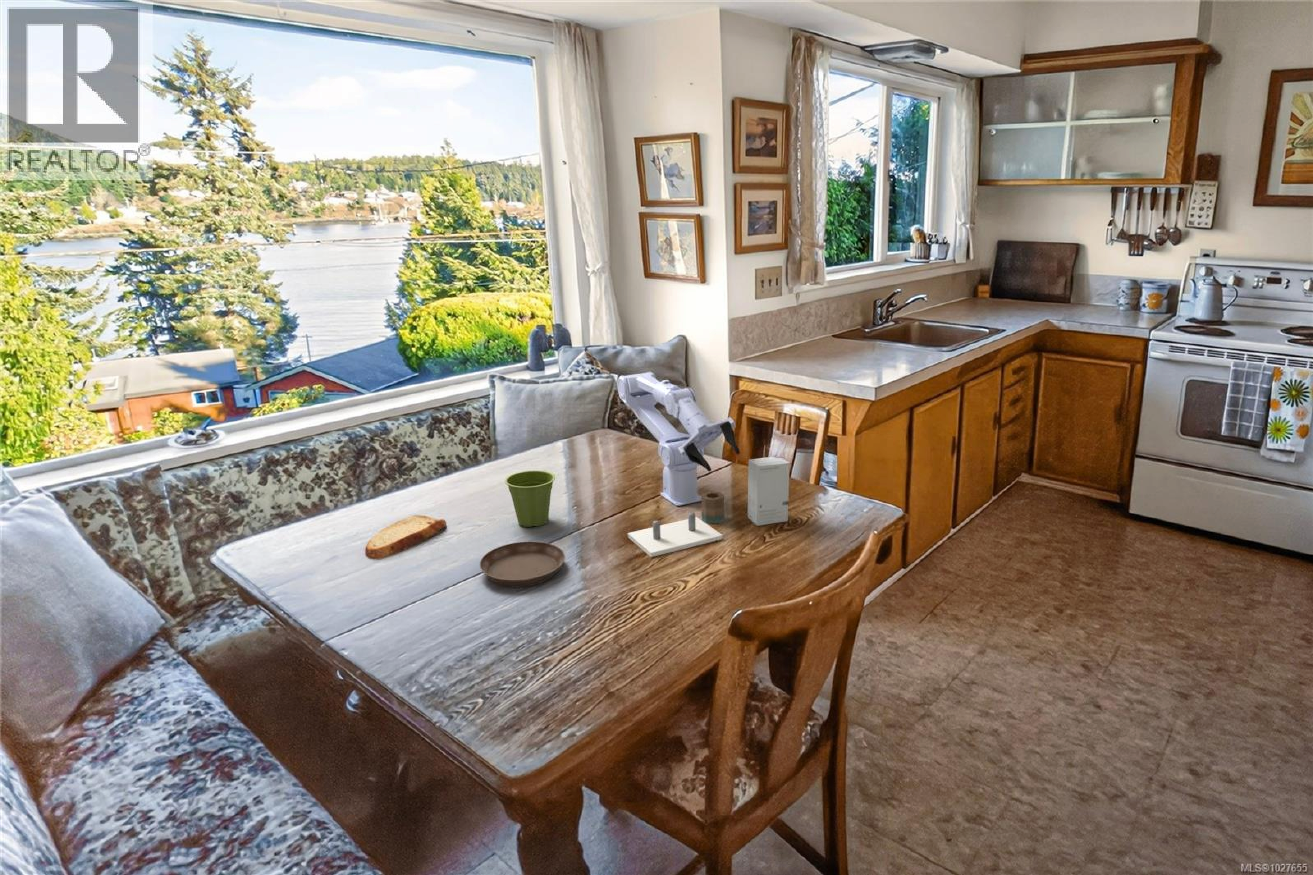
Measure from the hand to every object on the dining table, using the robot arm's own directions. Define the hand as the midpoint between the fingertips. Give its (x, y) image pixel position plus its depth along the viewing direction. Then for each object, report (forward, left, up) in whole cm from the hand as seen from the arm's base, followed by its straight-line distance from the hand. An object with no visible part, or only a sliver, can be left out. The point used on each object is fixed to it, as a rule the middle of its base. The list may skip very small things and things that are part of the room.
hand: (723, 460), depth 177 cm
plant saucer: (-2, -48, -17) cm, 51 cm away
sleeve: (-5, 0, -16) cm, 17 cm away
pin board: (0, -13, -16) cm, 21 cm away
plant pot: (-26, -38, -17) cm, 49 cm away
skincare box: (+2, +11, -17) cm, 20 cm away
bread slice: (-32, -67, -17) cm, 76 cm away
